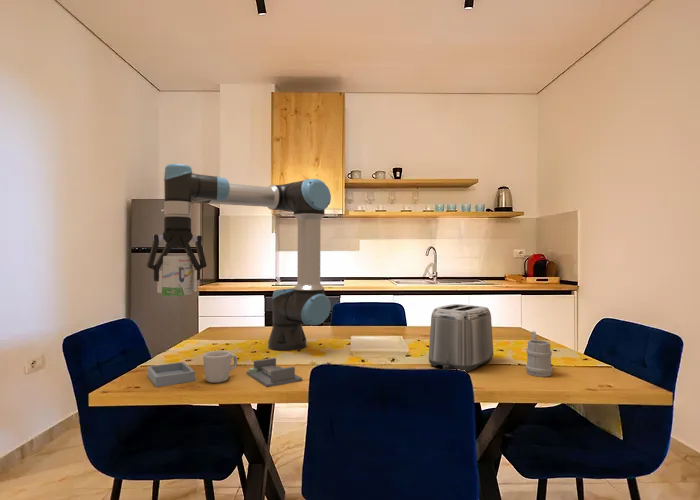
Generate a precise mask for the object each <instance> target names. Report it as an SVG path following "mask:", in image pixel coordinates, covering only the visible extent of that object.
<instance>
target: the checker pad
mask: <svg viewBox="0 0 700 500" xmlns="http://www.w3.org/2000/svg"><path fill="white" fill-rule="evenodd" d="M277 367H278V366H276V367H275V366H273V365H271V366H265V367H261V371H262V372H263V373H265V374H267V375H269V376H270V377H271V370H276V369H279V368H277Z"/></svg>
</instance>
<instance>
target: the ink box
mask: <svg viewBox="0 0 700 500" xmlns="http://www.w3.org/2000/svg"><path fill="white" fill-rule="evenodd" d="M193 267H194V266H193V263H192V261H191V258H190V256H188V255H167V256H164V257H163V263H162V293H161V297H170V298H171V297H175V298H177V297H182V296H187V295H192V294H193V291H192V270H193Z"/></svg>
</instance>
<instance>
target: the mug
mask: <svg viewBox="0 0 700 500" xmlns="http://www.w3.org/2000/svg"><path fill="white" fill-rule="evenodd" d="M526 354H527V355H526V357H527V360H526V365H525V370H526V373H527V375H530V376H533V377H537V378H538V377H539V378H548V377H551V376H552V372H554V371H553V369H554V367H552V350H551V342H550V341H548V340H543V339H537V332H536V331H534V330H533V331H531V338H530V340H528V341H527V349H526Z"/></svg>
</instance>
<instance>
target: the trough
mask: <svg viewBox="0 0 700 500" xmlns="http://www.w3.org/2000/svg"><path fill="white" fill-rule="evenodd" d="M146 368H147V374H146V375H147V377H148V379H149V380H150V382H151V383H152V384H153V386H154V387H155V388H160V387H166V386H172V385H173V386H174V385H179V384H185V383H193V382H195V381H196V371H195V370H194V369H193V368H192V367H191V366H189V365H188V364H187V363H186V362H185V361H178V362H171V363H165V364H158V365H150V366H147V367H146Z"/></svg>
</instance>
